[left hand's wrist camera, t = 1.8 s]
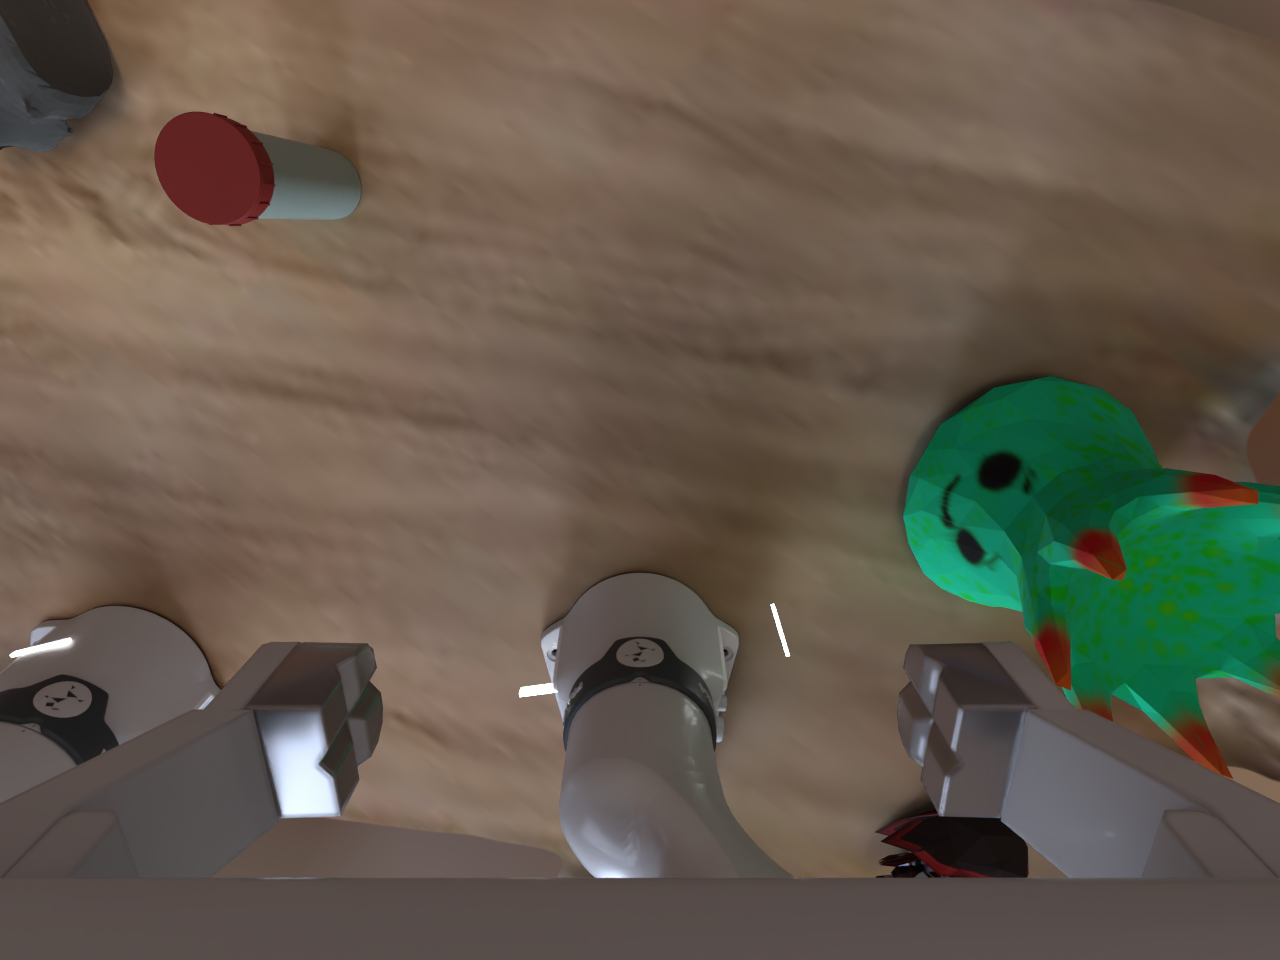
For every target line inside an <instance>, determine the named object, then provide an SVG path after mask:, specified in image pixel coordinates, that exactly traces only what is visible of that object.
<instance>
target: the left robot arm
mask: <svg viewBox="0 0 1280 960" xmlns="http://www.w3.org/2000/svg"><path fill="white" fill-rule="evenodd" d="M771 608H772V611H773V614H774V618H775V621H776V624H777V628H778V631H779V634H780V637H781V641H782V644H783V647H784V651H785V654H786V657H788V656H790V655H789V651H788V648H787V645H786V641H785V638H784V635H783V631H782V628H781V625H780V621H779V618H778V615H777V611H776V608H775V605H774V604H771ZM541 647H542V650H543V654H544V657H545V661H546V664H547V668H548V671H549V674H550V678H551V681H552V683H551V684H543V685H536V686H529V687H521V689H520V693H519V696H520V697H525V696H532V695H539V694H547V693H554V692H555V695H556V699H557V702H558V706H559V709H560V712H561V716H562V719H563V727H564V731H563V741H564V747H565V751H566V756H565V763H564V770H563V778H562V785H561V792H560V800H559V817H560V823H561V827H562V830H563V833H564V835H565V838H566V840H567V842H568V844H569V845H570V847H571V849H572V850H573V852H574V853H575V855H576V856H577V858H578V859H579V861H580V862H581V863H582V864H583V866H584V867H585V868H586V869H587V870H588V871H589V872H590V873H591V874H592V875H593V876H594V877H596V878H211V877H212V876H213V875H214V874H216V873H217V872H218V871H219V870H221V869H222V868H223V867H224V866H225V865H227V864H228V863H229V862H230V861H231V860H233V859H234V858H235V857H236V856H238V855H239V854H240V853H241V852H242V851H244V850H245V849H246V848H247V847H248V846H250V845H251V844H252V843H253V842H254V841H256V840H257V839H258V838H259V837H260V836H262V835H263V834H264V833H265V832H266V831H268V830H269V829H270V828H271V827H273V826H274V825H275V824H276V823H277V822H278V821H279V819H278V818H297V817H331V816H341V815H342V813H343V811H344V809H345V807H346V805H347V803H348V801H349V799H350V797H351V795H352V793H353V791H354V789H355V787H356V785H357V783H358V782H359V774H358V768H357V766H358V765H360V764H361V763H363V762H364V761H366V760H367V759H368V758H370V757H371V756H372V754H373V752H374V749H375V747H376V745H377V743H378V740H379V736H380V731H381V727H382V721H383V705H382V698H381V692H380V691H379V690H378V689H377V688H376V687H375V686H374V685H373V684H372V683H371V682H370V679H371V677H372V675H373V674H374V672H375V670H376V668H377V666H376V661H375V656H374V651H373V649H372V648H371V647H370V646H369V645H368V644H367V643H322V642H303V643H301V642H270V643H266V644H263V645H262V646H261V647H260V648H259V649H258V650H257V651H256V652H255V653H254V654H253V655H252V656H251V658H250V659H249V660H248V661H247V662H246V663H245V664H244V665H243V666H242V667H241V669H240V670H239V671H238V672H237V673H236V674H235V675H234V676H233V677H232V679H231V680H230V681H229V682H228V683H227V684H226V685H225V686H224V687H223V688H222V690H221V691H220V692H219V693H218V694H217V695H216V696H215V697H214V698H213V699H212V701H211V702H210V703H209V704H208V705H207V706H206V707H205V708H204V709H192V710H190V711H188V712H186V713H184V714H182V715H180V716H178V717H176V718H174V719H172V720H170V721H168V722H166V723H164V724H162V725H160V726H158V727H156V728H153V729H151V730H149V731H147V732H145V733H143V734H141V735H139V736H137V737H135V738H133V739H131V740H129V741H127V742H125V743H123V744H121V745H119V746H117V747H115V748H112V749H110V750H108V751H106V752H104V753H102V754H100V755H98V756H96V757H94V758H92V759H90V760H88V761H86V762H84V763H82V764H80V765H78V766H76V767H74V768H71V769H69V770H67V771H65V772H63V773H61V774H59V775H57V776H55V777H53V778H51V779H49V780H47V781H45V782H43V783H41V784H39V785H37V786H35V787H33V788H30V789H28V790H26V791H24V792H22V793H20V794H18V795H16V796H14V797H12V798H10V799H8V800H6V801H4V802H2V803H0V960H1280V803H1278V802H1276V801H1274V800H1271V799H1269V798H1267V797H1265V796H1263V795H1261V794H1259V793H1257V792H1255V791H1253V790H1251V789H1249V788H1247V787H1245V786H1243V785H1241V784H1239V783H1237V782H1235V781H1233V780H1231V779H1229V778H1227V777H1225V776H1223V775H1220V774H1218V773H1216V772H1214V771H1212V770H1210V769H1208V768H1206V767H1204V766H1202V765H1200V764H1198V763H1196V762H1194V761H1192V760H1190V759H1188V758H1186V757H1184V756H1182V755H1180V754H1178V753H1175V752H1173V751H1171V750H1169V749H1167V748H1165V747H1163V746H1161V745H1159V744H1157V743H1155V742H1153V741H1151V740H1149V739H1147V738H1145V737H1143V736H1141V735H1139V734H1137V733H1135V732H1133V731H1131V730H1128V729H1126V728H1124V727H1122V726H1120V725H1118V724H1116V723H1114V722H1112V721H1110V720H1108V719H1106V718H1104V717H1102V716H1100V715H1098V714H1096V713H1094V712H1092V711H1090V710H1088V709H1076V708H1075V707H1074V706H1073V705H1072V704H1071V703H1070V702H1069V701H1068V699H1067V698H1066V697H1065V696H1064V695H1063V694H1062V693H1061V692H1060V691H1059V690H1058V688H1057V687H1056V686H1055V685H1054V684H1053V683H1052V682H1051V681H1050V680H1049V678H1048V677H1047V676H1046V675H1045V674H1044V673H1043V672H1042V671H1041V670H1040V669H1039V667H1038V666H1037V665H1036V664H1035V663H1034V662H1033V661H1032V660H1031V659H1030V658H1029V656H1028V655H1027V654H1026V653H1025V652H1024V651H1023V650H1022V649H1021V648H1020V647H1019V645H1017V644H1014V643H1012V642H1010V641H1009V642H981V643H958V644H910V645H909V647H908V650H907V652H906V654H905V660H904V666H903V668H904V670H905V672H906V674H907V675H908V677H909V679H910V682H909V683H908V684H907V685H906V686H905V687H904V688H903V689H902V690H901V691H900V692H899V699H898V707H897V717H898V728H899V733H900V736H901V740H902V743H903V745H904V747H905V750H906V752H907V754H908V756H909V757H910V758H912V759H913V760H914V761H916V762H917V763H919V764H920V765H922V766H923V768H922V774H921V782H922V783H923V785H924V787H925V789H926V791H927V793H928V795H929V797H930V799H931V801H932V803H933V805H934V807H935V809H936V811H937V813H938V815H939V816H947V817H982V818H1002V819H1001V821H1002V822H1003V823H1004V824H1005V825H1007V826H1008V827H1009V828H1010V829H1011V830H1013V831H1014V832H1015V833H1016V834H1017V835H1019V836H1020V837H1021V838H1022V839H1023V840H1025V841H1026V842H1027V843H1028V844H1029V845H1031V846H1032V847H1033V848H1034V849H1036V850H1037V851H1038V852H1039V853H1040V854H1042V855H1043V856H1044V857H1045V858H1046V859H1048V860H1049V861H1050V862H1051V863H1052V864H1054V865H1055V866H1056V867H1057V868H1058V869H1060V870H1061V871H1062V872H1063V873H1064V874H1066V875H1067V876H1068V877H1069V878H795V877H794V876H792V875H791V874H790V873H788V872H787V871H786V870H784V869H783V868H782V867H781V866H779V865H778V864H777V863H776V862H775V861H773V860H772V859H771V858H770V857H769V856H768V855H767V854H766V853H765V852H764V851H763V850H762V849H761V848H760V847H759V846H758V845H757V844H756V843H755V842H754V841H753V840H752V839H751V838H750V837H749V835H748V834H747V833H746V832H745V831H744V829H743V828H742V827H741V826H740V824H739V823H738V822H737V820H736V819H735V817H734V816H733V814H732V812H731V810H730V809H729V807H728V805H727V802H726V800H725V797H724V793H723V790H722V786H721V782H720V778H719V774H718V770H717V765H716V760H715V754H714V751H715V747H716V742H721V741H722V739H723V734H724V719H723V717H721V716H719V713H720V711H726V708H727V696H725V692H726V689H727V685H728V681H729V678H730V675H731V671H732V668H733V664H734V661H735V657H736V654H737V650H738V647H739V636H738V633H737V632H736V631H735V629H733V628H732V627H731V626H729V625H728V624H726V623H724V622H723V621H721V620H719V619H717V618H716V617H715V616H714V615H713V614H712V613H711V612H710V611H709V609H708V608H707V606H706V605H705V604H704V602H703V601H702V600H701V599H700V597H699V596H698V595H697V594H696V593H694V592H693V591H692V590H691V589H689V588H688V587H687V586H685V585H683V584H682V583H680V582H678V581H676V580H674V579H671V578H668V577H665V576H662V575H657V574H651V573H628V574H623V575H618V576H615V577H612V578H609V579H606V580H604V581H602V582H600V583H598V584H597V585H595V586H593V587H592V588H591V589H589V590H588V591H587V592H586V593H584V594H583V595H582V596H581V597H580V599H579V600H578V601H577V602H576V604H575V605H574V606H573V608H572V609H571V611H570V612H569V613H568V614H567V615H566V616H565V617H564V618H563V619H561V620H559V621H558V622H556V623H554V624H552V625H551V626H549V627H548V628H547V629H546V630H545V631H544V632H543V633H542V636H541ZM554 649H557V652H554V651H553V650H554ZM723 649H726V650H727V651H726V652H724V651H723Z"/></svg>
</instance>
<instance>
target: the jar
mask: <svg viewBox="0 0 1280 960" xmlns="http://www.w3.org/2000/svg"><path fill="white" fill-rule="evenodd" d="M251 132H252V133H253V134H254V135H255V136H256V137H257V138H258V139H259V141H260V142H262V143H263V146H264V148H265V150H266V151H267V153H268V155H269V158H270V160H271V163H273V165H272V166H273V171H274V181H275V183H274V184H275V185H276V186H275V187H274V192H273V196H272V199H271V201H270V206H268V207H267V208H266V210H265V211H264V212H263V213H262V214H261V215H260V216H259V217H258V218H262V219H341V218H344V217H346V216H348V215H349V214H351V213H352V212H353V211H354V210H355V208H356V207H357V205H358V203H359V200H360V196H361V183H360V179H359V176H358V173H357V171H356V169H355V168H354V166H353V165H352V163H351V162H350V161H349V160H348V159H347V158H346V157H344V156H343V155H341V154H340V153H338V152H336V151H333V150H329V149H325V148H321V147H317V146H312V145H308V144H304V143H300V142H296V141H292V140H287V139H283V138H279V137H275V136H271V135H266V134H262V133H258V132H254V131H251Z"/></svg>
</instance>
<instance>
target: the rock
mask: <svg viewBox="0 0 1280 960" xmlns="http://www.w3.org/2000/svg"><path fill="white" fill-rule="evenodd" d="M112 76H113V71H112V64H111V58H110V54H109V51H108V48H107V45H106V42H105V40H104V38H103V35H102V33H101V31H100V29H99V27H98V25H97V23H96V21H95V19H94V17H93V15H92V13H91V11H90V9H89V7H88V6H87V4H86V2H85V0H0V150H1V149H2V148H5V147H10V146H13V147H20V148H25V149H30V150H34V151H38V152H46V151H49V150H52V149H54V148H55V147H56V146H57V145H58V144H59V142H60V141H61V140H62V139H64V138H65V137H67V136H70V135H71V134H73V129H71V128H70V127H69V126H68V125H67V123H66V120H67V119H72V118H82V117H84V116H85V115H87V114H89V113H90V112H91V111H92V110H93V108H94V107H95V105H96V103H97V102H98V101H99V100H100V99H101V98H102V97H103V95H104V94H105V92H106V91H107V90H108V89H109V87H110V85H111V83H112Z"/></svg>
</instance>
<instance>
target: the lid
mask: <svg viewBox="0 0 1280 960" xmlns="http://www.w3.org/2000/svg"><path fill="white" fill-rule="evenodd" d="M272 165H273V163H271V160H270V158H269V155H268V153H267V151H266V150H265V148H264V146H263V143H262V142H260V141H259V139H258V138H257V137H256V136H255V135H254V134H253V133H252V132H251V131H250V130H249V129H247V126H245V125H242V124H240V123H238V122H236V121H234V120H231V119H229V118H227V116H224V115H220V114H216V113H214V114H210V113H205V112H188V113H184V114H181V115H178V116H177V117H175V118H173V119H172V120H170V121H169V122H168V123H167V124H166V125H165V126H164V128H163V129H162V131H161V132H160V134H159V136H158V139H157V142H156V146H155V167H156V171H157V175H158V178H159V181H160V183H161V185H162V187H163V189H164V191H165V192H166V194H167V195H168V197H169V198H170V199H171V201H172V202H173V203H174V204H175V205H176V206H177V207H178V208H179V209H180V210H182V211H183V212H184V213H186V214H187V215H188V216H190V217H192V218H194V219H196V220H198V221H201V222H204V223H207V224H210V225H229V226H242V225H241V224H245V223H248V222H250V221H252V220H255V219H259V218H258V217H259V216H260V215H261V214H262V213H263V212H264V211H265V210H266V208H267V207H268V206H270V201H271V199H272V196H273V192H274V187H275V186H276V185H275V184H274V183H275V181H274V171H273V166H272Z"/></svg>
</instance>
